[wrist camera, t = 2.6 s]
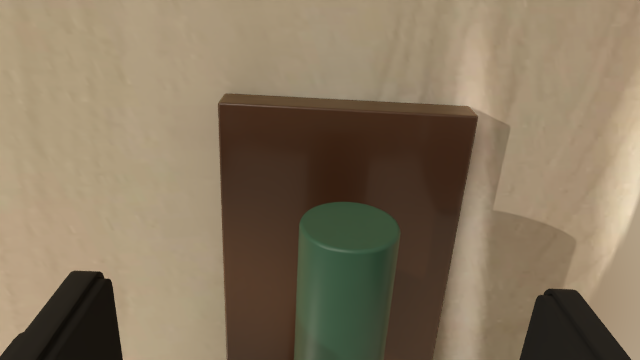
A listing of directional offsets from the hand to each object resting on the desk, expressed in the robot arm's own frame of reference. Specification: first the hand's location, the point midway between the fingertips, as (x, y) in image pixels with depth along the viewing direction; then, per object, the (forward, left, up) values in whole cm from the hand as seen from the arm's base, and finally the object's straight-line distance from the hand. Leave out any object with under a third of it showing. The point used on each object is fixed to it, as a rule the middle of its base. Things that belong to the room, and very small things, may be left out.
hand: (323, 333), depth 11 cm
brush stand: (+7, 0, -5) cm, 9 cm away
